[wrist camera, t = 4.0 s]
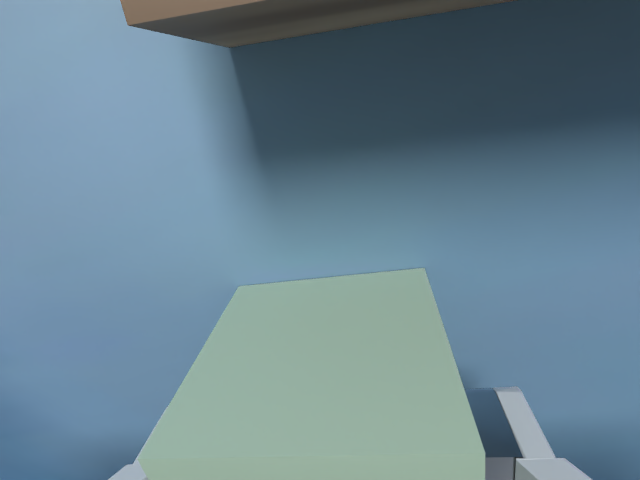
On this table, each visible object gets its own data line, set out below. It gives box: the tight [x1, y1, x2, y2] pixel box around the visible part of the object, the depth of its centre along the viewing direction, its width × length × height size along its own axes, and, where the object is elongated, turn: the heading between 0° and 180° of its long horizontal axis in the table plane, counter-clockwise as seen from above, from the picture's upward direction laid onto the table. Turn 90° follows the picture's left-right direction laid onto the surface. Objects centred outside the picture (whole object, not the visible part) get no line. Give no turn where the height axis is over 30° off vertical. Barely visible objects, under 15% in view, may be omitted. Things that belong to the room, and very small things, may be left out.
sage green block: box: [137, 268, 485, 480], centre depth 8 cm, size 5×5×5 cm
